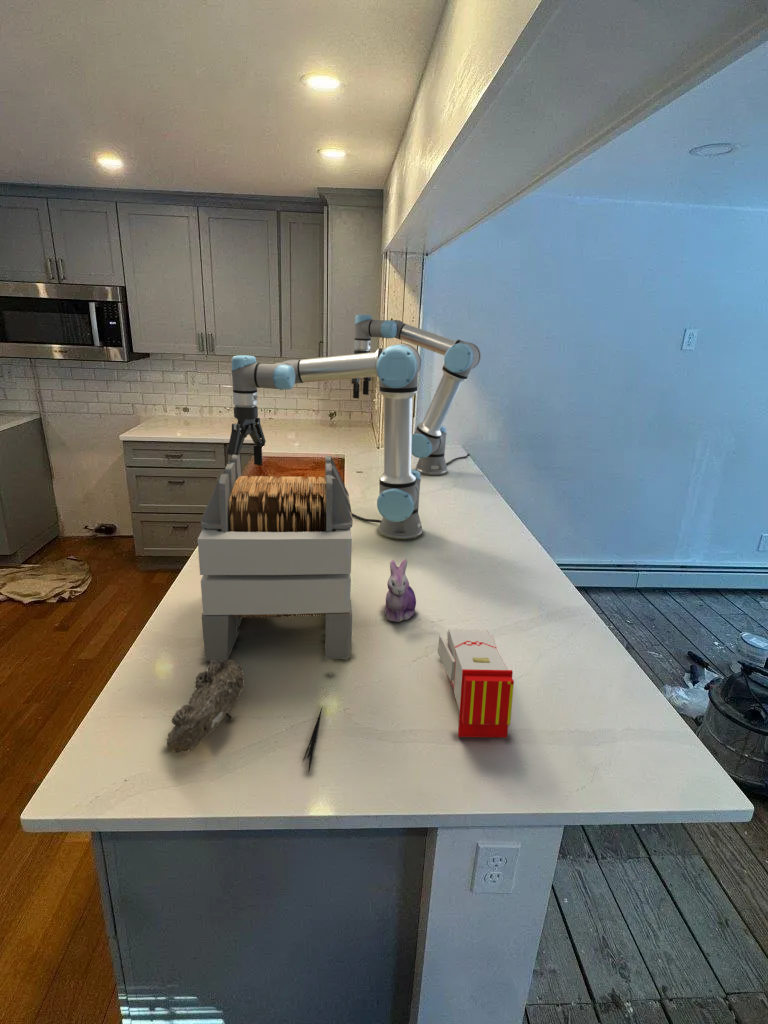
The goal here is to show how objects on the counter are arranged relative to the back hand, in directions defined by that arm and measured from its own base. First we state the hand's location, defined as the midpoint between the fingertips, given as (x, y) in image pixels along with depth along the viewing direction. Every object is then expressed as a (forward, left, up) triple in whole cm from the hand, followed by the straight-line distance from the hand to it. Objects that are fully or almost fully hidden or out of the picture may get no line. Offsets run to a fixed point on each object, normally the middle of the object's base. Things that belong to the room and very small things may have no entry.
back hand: (360, 396), depth 268 cm
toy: (+146, +96, -35) cm, 178 cm away
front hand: (+95, +4, -13) cm, 96 cm away
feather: (+167, +73, -35) cm, 186 cm away
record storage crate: (+141, +47, -35) cm, 152 cm away
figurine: (+123, +72, -35) cm, 147 cm away
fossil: (+176, +54, -35) cm, 187 cm away
